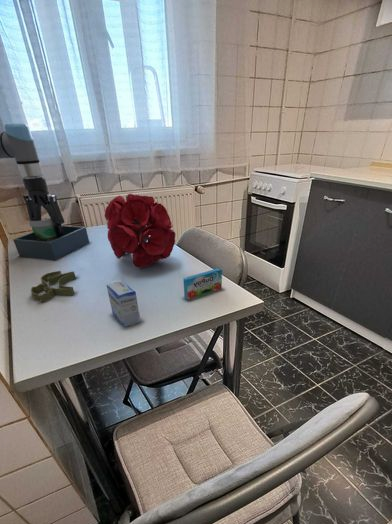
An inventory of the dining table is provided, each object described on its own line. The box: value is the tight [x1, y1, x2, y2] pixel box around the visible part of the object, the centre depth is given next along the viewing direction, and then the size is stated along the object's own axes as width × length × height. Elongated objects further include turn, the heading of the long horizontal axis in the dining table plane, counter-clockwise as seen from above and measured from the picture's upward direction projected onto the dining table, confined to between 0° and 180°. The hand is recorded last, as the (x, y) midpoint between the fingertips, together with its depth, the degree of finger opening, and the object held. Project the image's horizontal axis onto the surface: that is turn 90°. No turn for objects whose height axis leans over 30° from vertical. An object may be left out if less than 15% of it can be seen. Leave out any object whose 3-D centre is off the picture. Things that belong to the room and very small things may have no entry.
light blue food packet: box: [182, 267, 223, 301], centre depth 83 cm, size 12×2×6 cm, turn 123°
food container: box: [28, 217, 57, 242], centre depth 118 cm, size 12×6×10 cm, turn 138°
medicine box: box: [106, 280, 141, 328], centre depth 73 cm, size 8×4×9 cm, turn 35°
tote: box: [12, 224, 90, 261], centre depth 120 cm, size 18×22×7 cm
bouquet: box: [104, 193, 176, 269], centre depth 101 cm, size 22×24×30 cm
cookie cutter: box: [30, 270, 77, 303], centre depth 91 cm, size 18×12×2 cm, turn 15°
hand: (53, 241), depth 120 cm, fingers closed on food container, 7 cm apart
